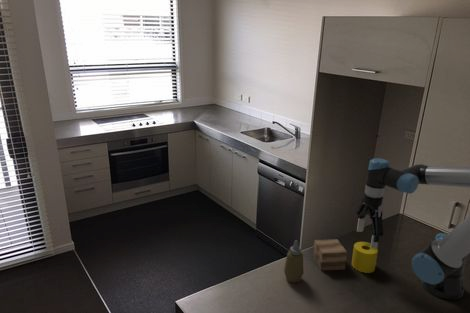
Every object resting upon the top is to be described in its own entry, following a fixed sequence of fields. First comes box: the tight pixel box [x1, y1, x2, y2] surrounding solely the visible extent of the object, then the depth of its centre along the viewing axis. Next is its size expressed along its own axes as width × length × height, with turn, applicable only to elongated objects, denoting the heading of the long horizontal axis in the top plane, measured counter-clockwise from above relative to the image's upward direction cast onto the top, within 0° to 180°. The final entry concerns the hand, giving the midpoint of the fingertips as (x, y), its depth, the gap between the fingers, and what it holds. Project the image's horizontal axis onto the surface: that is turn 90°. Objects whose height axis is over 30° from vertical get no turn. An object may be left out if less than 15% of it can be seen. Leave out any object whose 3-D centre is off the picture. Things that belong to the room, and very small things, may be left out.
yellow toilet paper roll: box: [351, 241, 379, 274], centre depth 160 cm, size 10×10×9 cm
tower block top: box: [313, 238, 348, 262], centre depth 162 cm, size 11×11×4 cm
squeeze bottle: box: [283, 240, 304, 284], centre depth 149 cm, size 8×8×18 cm
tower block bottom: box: [312, 249, 347, 271], centre depth 163 cm, size 11×11×4 cm
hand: (366, 239), depth 158 cm, fingers open, 13 cm apart
